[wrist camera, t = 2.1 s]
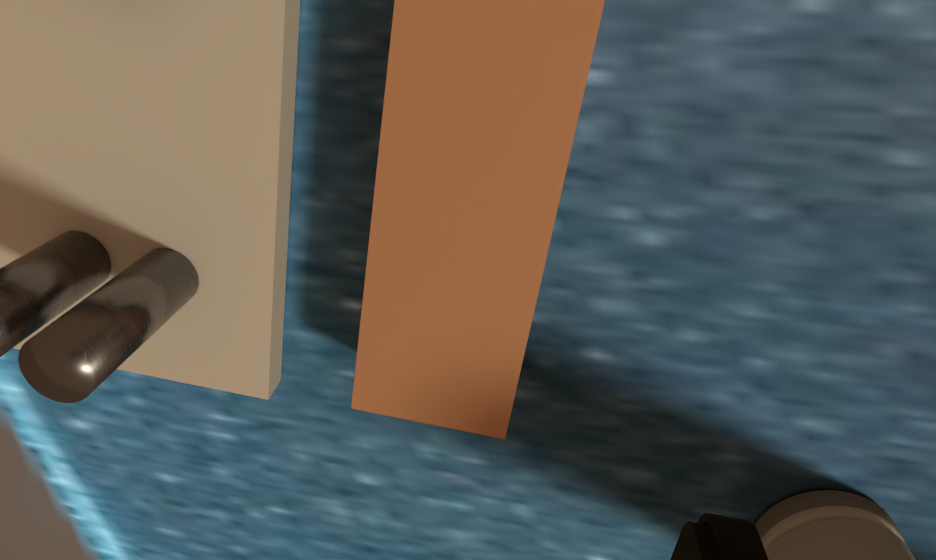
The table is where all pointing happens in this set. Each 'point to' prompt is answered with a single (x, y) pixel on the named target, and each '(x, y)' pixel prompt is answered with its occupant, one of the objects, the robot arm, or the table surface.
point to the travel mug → (830, 529)
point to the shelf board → (466, 202)
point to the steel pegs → (86, 310)
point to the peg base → (160, 161)
